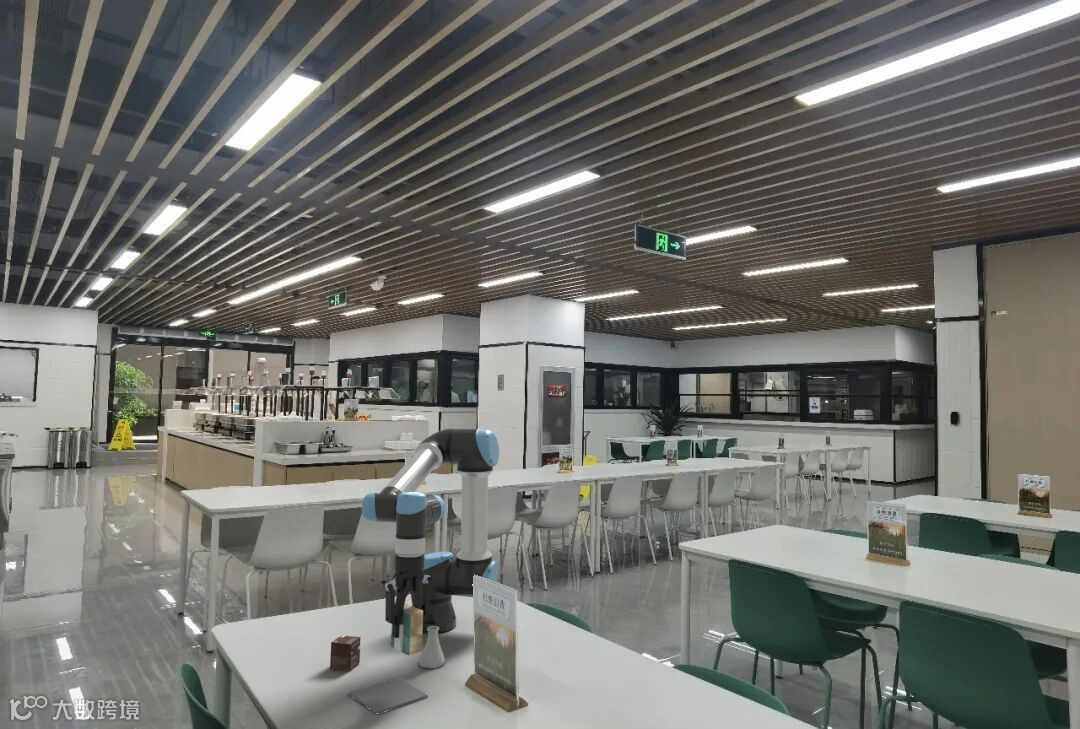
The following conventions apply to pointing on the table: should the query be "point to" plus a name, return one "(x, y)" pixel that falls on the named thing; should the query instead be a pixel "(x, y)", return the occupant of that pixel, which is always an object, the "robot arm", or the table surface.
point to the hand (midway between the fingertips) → (406, 647)
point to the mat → (387, 695)
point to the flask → (432, 650)
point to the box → (345, 653)
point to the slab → (411, 630)
